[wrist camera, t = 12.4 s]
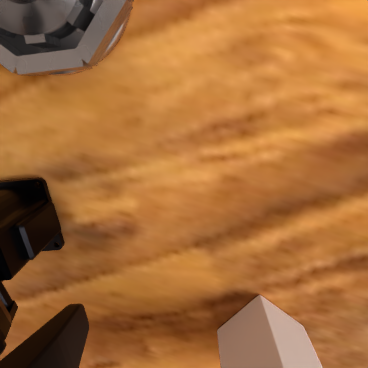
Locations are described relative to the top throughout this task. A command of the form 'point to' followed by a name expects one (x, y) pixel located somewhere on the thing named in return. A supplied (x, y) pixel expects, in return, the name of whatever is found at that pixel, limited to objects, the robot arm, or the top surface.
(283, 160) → the top surface
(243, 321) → the milk
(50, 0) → the grey cylinder with base
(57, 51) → the grey octagonal ring
